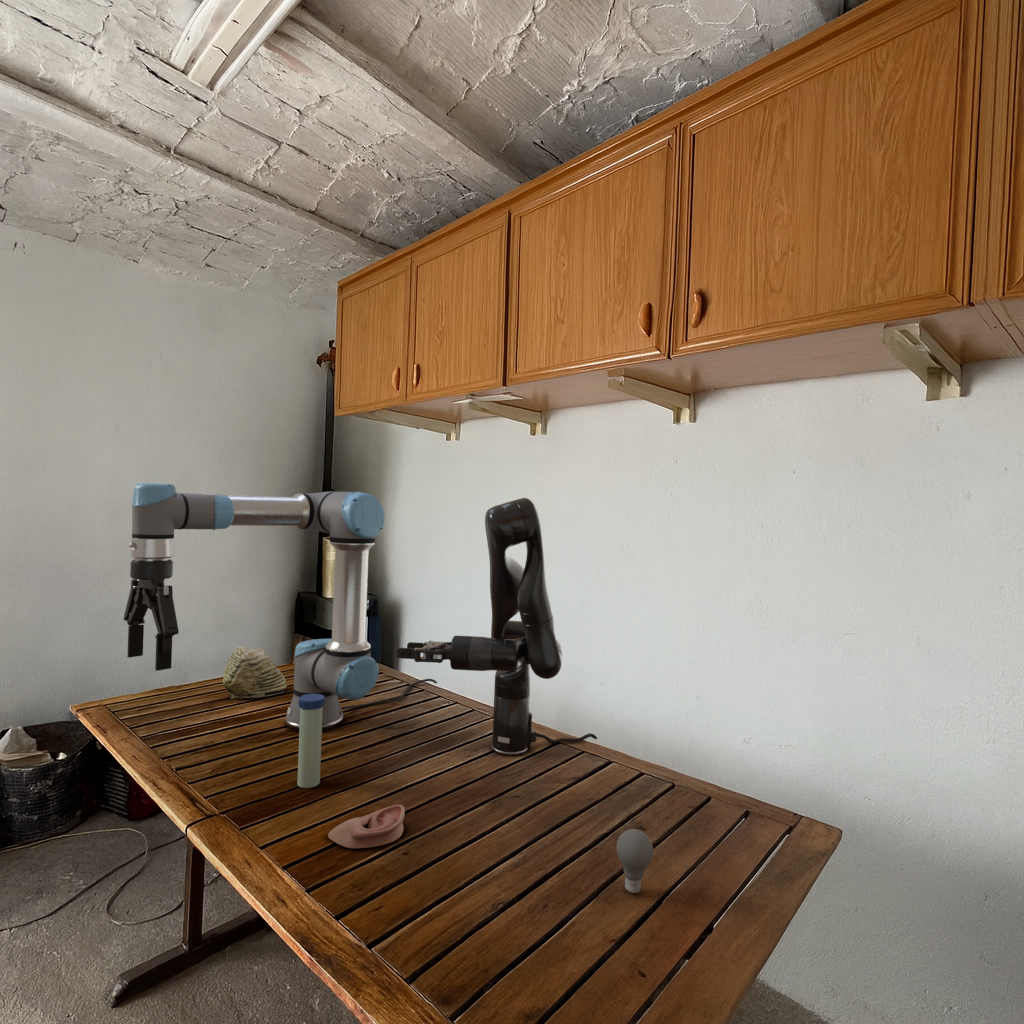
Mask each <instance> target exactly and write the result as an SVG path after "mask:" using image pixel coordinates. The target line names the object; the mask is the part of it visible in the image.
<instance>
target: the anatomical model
mask: <svg viewBox="0 0 1024 1024" xmlns="http://www.w3.org/2000/svg"><path fill="white" fill-rule="evenodd" d="M405 814H406V809H405V806H404V805H403V804H393V805H389V806H386V807H383V808H381V809H377V810H375V811H373V812H371V813H368V814H366V815H363V816H360V817H358V816H357V817H354V818H350V819H347V820H345V821H343V822H341V823H340V824H338V825H336V826H334V827H333V828H332V829H331V830H330V831H329V832H328V834H327V838H328V839H329V840H331V842H333V843H336V845H339V846H341V847H344V848H347V849H366V848H367V849H368V848H374V847H379V846H384V845H388V844H390V843H392V842H394V841H397V840H399V838H401V836H402V835H403V832H404V829H405V828H404V823H403V822H404V820H405Z"/></svg>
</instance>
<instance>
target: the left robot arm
mask: <svg viewBox="0 0 1024 1024" xmlns="http://www.w3.org/2000/svg"><path fill="white" fill-rule="evenodd" d="M385 515H386V513H385V511H384V508H383V505H382V503H381V502H380V501H379V500H378V498H377V497H375V495H373V494H370V493H367V492H363V491H362V492H361V491H337V490H336V491H335V490H333V491H332V490H330V491H321V492H311V493H295V494H294V495H293V496H276V495H275V496H274V495H273V496H272V495H248V494H247V495H246V494H244V495H243V494H220V493H219V494H218V493H217V494H216V493H215V494H214V493H189V492H187V493H186V492H177V491H176V486H175V485H174V484H173V483H152V482H139V483H137V484H136V485H135V486H134V488H133V492H132V501H131V520H132V521H131V542H130V543H128V547H129V548H130V549H131V550H130V556H131V558H133V559H132V560H131V561H130V567H129V568H130V571H129V574H130V575H129V576H130V578H131V581H130V590H129V594H128V598H127V603H126V607H125V610H124V615H123V621H124V622H126V624H127V626H128V629H127V630H128V631H127V658H135V657H142V656H144V635H145V634H144V630H145V625H144V624H145V623H146V621H145V619H144V618H145V616H146V615H147V612H148V609H149V610H151V613H152V618H153V620H154V624H155V627H156V631H157V633H156V635H155V636H154V638H155V661H154V663H155V665H154V668H155V669H154V670H155V671H157V672H159V671H164V670H169V669H172V659H173V657H172V655H173V637H175V636H176V635H179V632H180V631H179V625H178V619H177V615H176V614H177V613H176V609H175V603H174V597H173V595H174V593H173V585H165V580H167V579H171V578H172V577H173V575H174V573H173V572H174V561H173V560H172V559H171V558H173V557H174V554H175V553H174V552H175V530H213V531H215V530H224V529H228V528H230V526H233V527H234V526H237V527H238V526H240V527H243V526H246V527H247V526H249V527H250V526H258V527H259V526H268V527H269V526H276V527H277V526H282V527H284V526H285V527H286V526H287V527H288V526H289V527H290V526H291V527H293V528H294V529H296V530H308V531H309V530H310V531H316V532H319V533H325V534H329V544H330V545H331V546H332V547H333V548H334V550H335V551H334V572H333V573H334V577H333V599H332V625H331V626H332V627H331V638H317V639H308V640H304V641H300V642H299V643H297V645H296V646H295V650H294V655H293V657H294V672H293V673H294V674H293V695H292V696H293V697H292V699H291V702H290V704H289V706H288V708H287V710H286V712H287V713H286V715H285V726H286V728H287V729H289V730H291V731H294V732H295V731H296V732H299V728H300V707H299V698H300V697H301V696H303V695H306V694H321V695H323V696H324V698H325V705H324V706H323V712H322V732H325V731H329V730H332V729H335V728H337V727H339V726H340V725H342V723H343V722H344V713H343V710H350V709H358V708H364V707H368V706H373V705H378V704H383V703H388V702H393V701H397V700H400V699H402V698H403V697H404V696H405V695H406V694H407V693H408V692H409V691H410V689H411V687H413V686H416V685H419V684H423V683H424V682H425V683H426V682H432V683H434V684H438V681H436V680H435V679H433V678H425V679H421V680H418V681H415V682H413V683H411V684H409V685H408V686H407V688H406V689H405V690H404V691H403V692H402V694H401V695H398V696H396V697H391V698H387V699H382V700H376V701H372V702H367V703H362V704H355V705H346V706H345V705H344V706H341V702H340V699H339V698H341V699H342V700H343V699H344V700H348V701H349V700H350V701H357V700H360V699H362V698H364V697H365V696H367V695H368V694H370V692H371V690H372V689H374V687H375V685H376V683H377V682H378V678H379V674H380V672H379V671H380V670H379V669H380V668H379V665H378V663H377V662H376V660H375V659H374V657H371V652H372V649H371V648H372V644H371V643H370V642H368V640H367V639H366V631H367V607H368V606H367V605H368V604H367V602H368V582H369V581H368V579H369V555H370V553H369V552H370V550H371V548H372V547H374V545H375V544H376V536H378V535H379V534H380V533H381V530H383V528H384V526H385V522H386V521H385V520H386V516H385Z"/></svg>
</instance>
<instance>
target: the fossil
mask: <svg viewBox="0 0 1024 1024" xmlns="http://www.w3.org/2000/svg"><path fill="white" fill-rule="evenodd" d="M222 676H223V677H222V685H223V687H224V688H225V690H226V691H228V693H229V698H230V699H250V698H264V697H271V696H275V695H281V694H284V693H285V691H286V689H287V687H288V686H287V680H286V678H285V676H284V674H283V673H282V672H281V669H279V668H278V667H277V665H276V663H275V662H274V660H273V659H272V658H271V657H270V656H269V655H268V654H267V653H266V652H265V650H264V649H263V648H260V647H258V648H251V647H247V646H246V647H245V646H238V647H237V648H236V649H235V650H233V651H232V653H231V656H230V657H229V659H228V660H227V663H226V666H225V668H224V671H223V675H222Z"/></svg>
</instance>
